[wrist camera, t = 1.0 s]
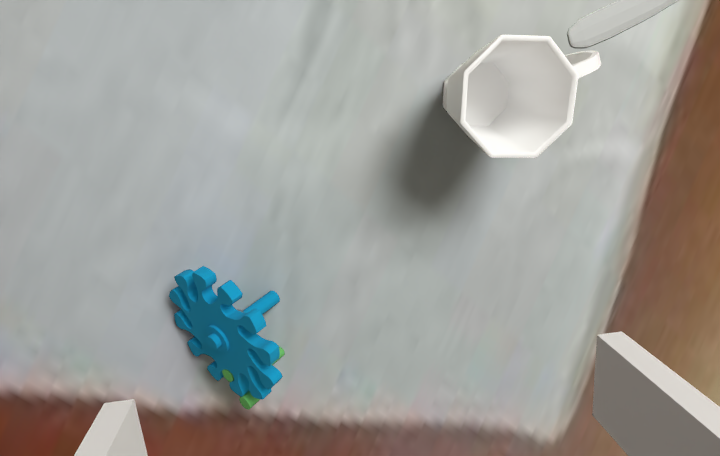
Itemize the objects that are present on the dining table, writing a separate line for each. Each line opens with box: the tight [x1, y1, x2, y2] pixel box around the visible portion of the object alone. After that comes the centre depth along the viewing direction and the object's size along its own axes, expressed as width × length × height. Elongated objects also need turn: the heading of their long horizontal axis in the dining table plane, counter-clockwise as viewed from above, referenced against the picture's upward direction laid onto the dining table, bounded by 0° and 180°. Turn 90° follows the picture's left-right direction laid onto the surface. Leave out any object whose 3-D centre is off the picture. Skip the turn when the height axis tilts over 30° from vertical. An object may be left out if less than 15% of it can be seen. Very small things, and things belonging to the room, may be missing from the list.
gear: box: [169, 266, 285, 409], centre depth 36 cm, size 11×6×10 cm
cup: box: [443, 35, 601, 158], centre depth 32 cm, size 7×10×8 cm
